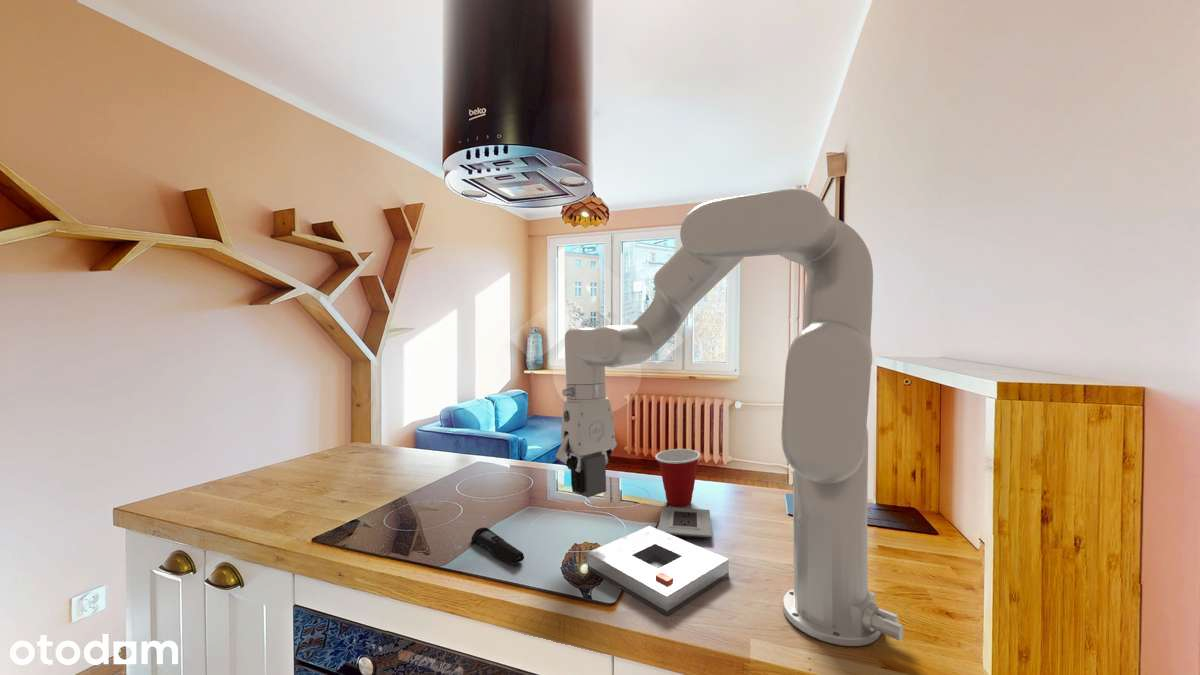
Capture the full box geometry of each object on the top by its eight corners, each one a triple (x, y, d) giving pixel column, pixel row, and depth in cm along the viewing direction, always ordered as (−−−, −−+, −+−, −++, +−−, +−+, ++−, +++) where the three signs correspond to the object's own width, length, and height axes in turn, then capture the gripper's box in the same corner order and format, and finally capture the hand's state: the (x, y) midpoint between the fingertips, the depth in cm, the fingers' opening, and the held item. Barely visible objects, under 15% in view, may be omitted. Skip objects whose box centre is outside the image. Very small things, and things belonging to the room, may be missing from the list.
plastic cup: (651, 495, 115) (650, 448, 115) (692, 493, 116) (692, 446, 116) (661, 512, 104) (660, 460, 104) (707, 510, 106) (706, 458, 106)
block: (606, 491, 87) (605, 454, 87) (587, 497, 84) (586, 459, 84) (590, 486, 91) (589, 450, 91) (572, 491, 88) (571, 455, 87)
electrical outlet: (712, 546, 89) (712, 534, 89) (657, 542, 91) (657, 530, 91) (709, 519, 102) (709, 508, 102) (662, 516, 104) (661, 505, 104)
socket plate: (728, 576, 77) (728, 555, 77) (666, 616, 66) (666, 592, 66) (649, 540, 90) (649, 522, 90) (587, 569, 80) (587, 548, 80)
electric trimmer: (510, 573, 80) (510, 555, 80) (469, 543, 91) (469, 527, 91) (529, 566, 82) (529, 548, 82) (486, 537, 94) (486, 522, 94)
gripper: (562, 399, 79) (565, 504, 79) (631, 389, 90) (634, 481, 90) (538, 395, 84) (541, 494, 84) (605, 387, 96) (608, 474, 96)
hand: (589, 486), depth 87 cm, fingers closed on block, 4 cm apart
